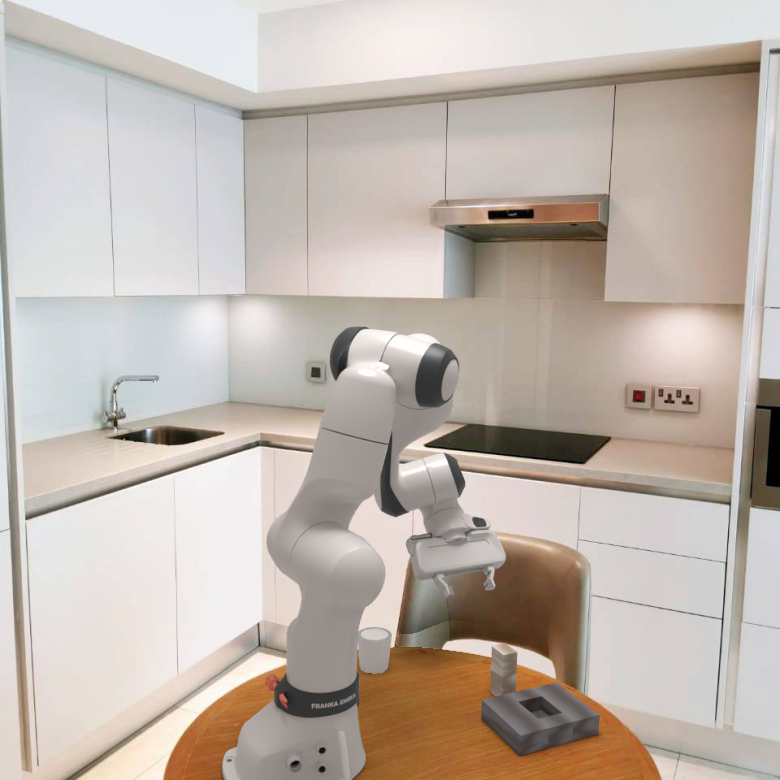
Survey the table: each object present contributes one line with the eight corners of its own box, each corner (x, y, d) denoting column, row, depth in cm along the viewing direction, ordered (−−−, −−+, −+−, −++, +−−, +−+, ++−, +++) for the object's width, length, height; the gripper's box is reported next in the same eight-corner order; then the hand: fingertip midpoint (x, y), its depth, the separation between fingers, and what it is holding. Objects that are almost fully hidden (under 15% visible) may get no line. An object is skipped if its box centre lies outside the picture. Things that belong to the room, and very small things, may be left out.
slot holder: (519, 755, 127) (520, 735, 126) (481, 718, 137) (481, 699, 137) (598, 734, 133) (599, 714, 133) (555, 700, 144) (556, 682, 144)
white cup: (390, 659, 159) (391, 626, 158) (391, 675, 152) (392, 641, 151) (356, 659, 159) (357, 626, 158) (356, 675, 152) (356, 641, 151)
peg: (501, 701, 143) (503, 655, 142) (490, 691, 147) (491, 645, 146) (515, 698, 144) (517, 652, 143) (503, 688, 148) (505, 643, 147)
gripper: (408, 529, 156) (429, 593, 149) (495, 518, 165) (520, 578, 157) (398, 544, 161) (418, 607, 153) (483, 532, 169) (507, 591, 162)
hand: (470, 592), depth 155 cm, fingers open, 8 cm apart
